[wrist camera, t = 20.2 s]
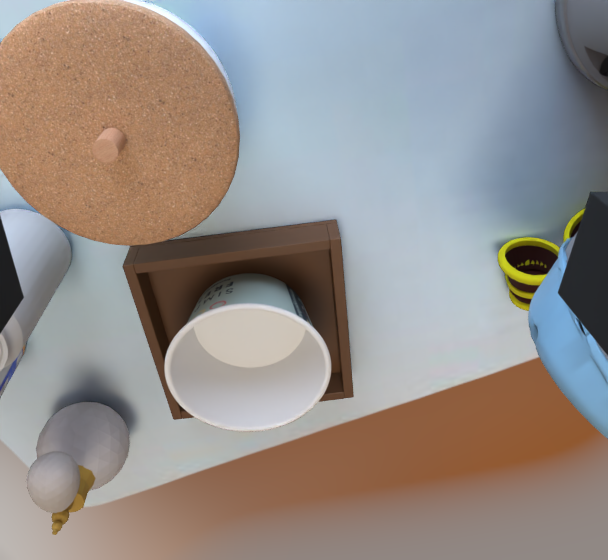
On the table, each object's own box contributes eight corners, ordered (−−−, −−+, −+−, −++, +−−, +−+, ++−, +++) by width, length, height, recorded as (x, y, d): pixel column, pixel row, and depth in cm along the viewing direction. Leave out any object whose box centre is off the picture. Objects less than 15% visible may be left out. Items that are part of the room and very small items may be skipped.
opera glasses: (499, 284, 47) (525, 327, 43) (486, 243, 43) (513, 286, 40) (614, 235, 45) (651, 276, 41) (610, 188, 42) (650, 228, 38)
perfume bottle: (77, 452, 53) (33, 575, 43) (21, 380, 48) (-43, 501, 38) (149, 433, 52) (123, 553, 42) (101, 358, 47) (58, 475, 37)
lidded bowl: (276, 138, 38) (281, 207, 29) (118, 212, 40) (75, 298, 31) (179, -59, 31) (145, -53, 22) (-2, 41, 34) (-103, 85, 24)
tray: (336, 219, 42) (340, 238, 39) (349, 373, 50) (353, 397, 48) (130, 245, 42) (121, 265, 39) (177, 395, 50) (173, 420, 48)
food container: (234, 228, 41) (230, 274, 36) (353, 309, 46) (365, 361, 40) (147, 331, 45) (131, 387, 40) (263, 396, 50) (263, 454, 44)
